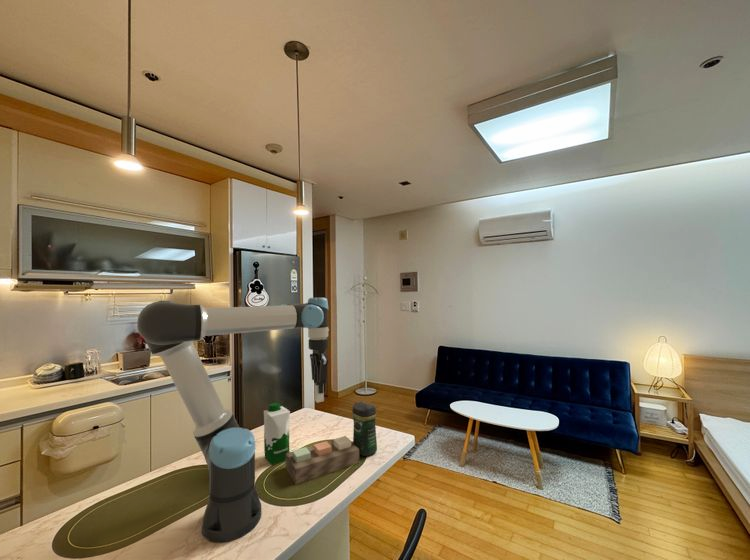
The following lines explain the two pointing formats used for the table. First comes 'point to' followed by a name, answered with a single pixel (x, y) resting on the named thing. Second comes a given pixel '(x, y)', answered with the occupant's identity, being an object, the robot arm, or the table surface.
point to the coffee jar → (364, 428)
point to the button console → (321, 463)
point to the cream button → (342, 443)
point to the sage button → (301, 455)
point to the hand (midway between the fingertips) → (319, 400)
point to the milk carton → (276, 433)
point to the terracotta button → (322, 448)
